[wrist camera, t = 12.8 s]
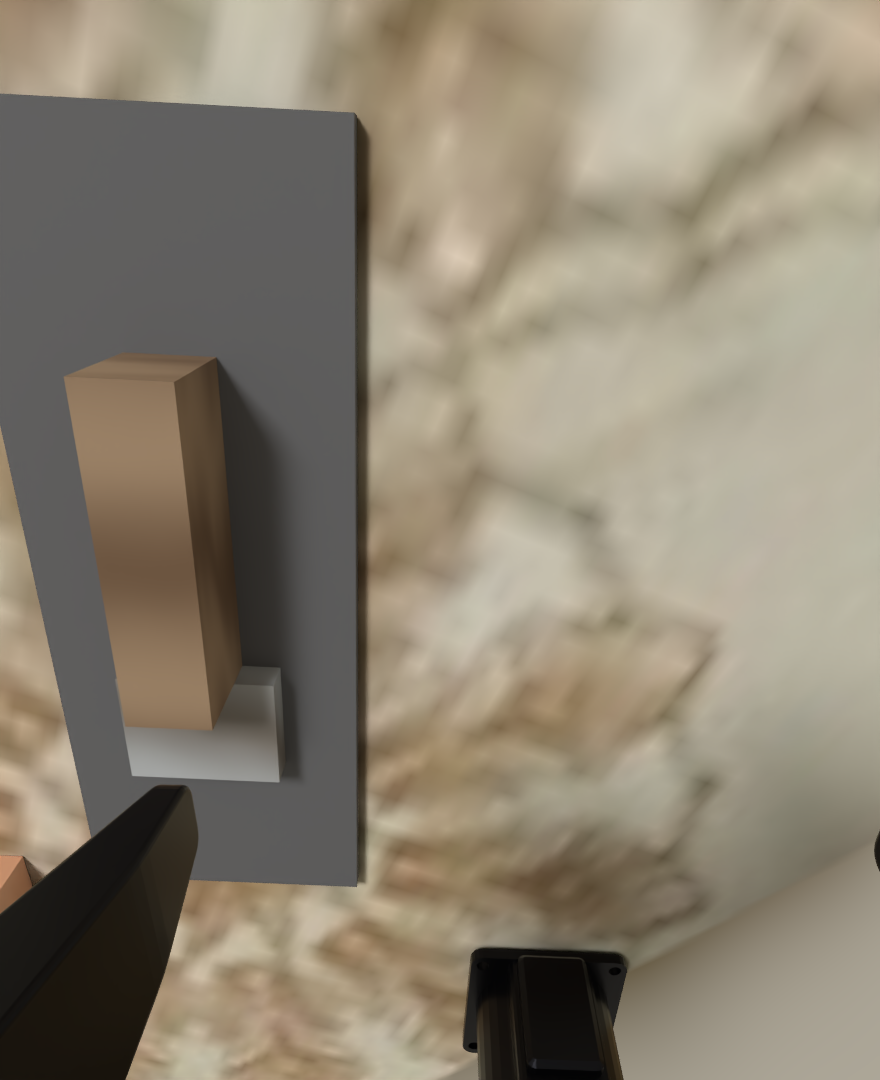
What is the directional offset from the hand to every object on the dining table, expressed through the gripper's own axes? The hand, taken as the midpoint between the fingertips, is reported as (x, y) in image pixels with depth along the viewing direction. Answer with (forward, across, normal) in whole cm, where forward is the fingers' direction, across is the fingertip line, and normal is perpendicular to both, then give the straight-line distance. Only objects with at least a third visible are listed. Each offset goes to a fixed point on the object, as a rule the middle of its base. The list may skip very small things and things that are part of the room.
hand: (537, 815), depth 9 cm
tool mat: (+13, +9, +4) cm, 16 cm away
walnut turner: (+12, +9, +3) cm, 16 cm away
